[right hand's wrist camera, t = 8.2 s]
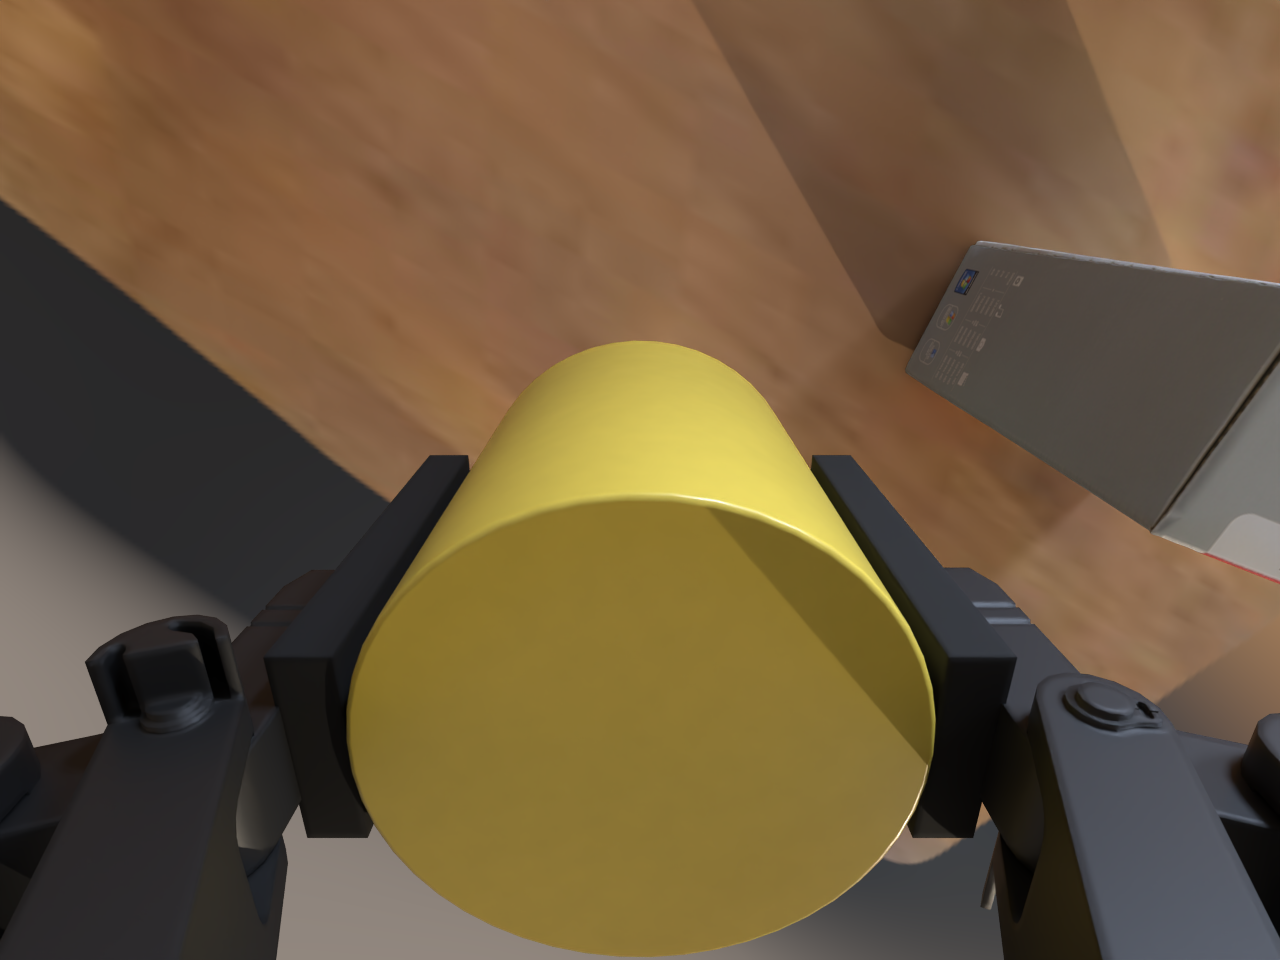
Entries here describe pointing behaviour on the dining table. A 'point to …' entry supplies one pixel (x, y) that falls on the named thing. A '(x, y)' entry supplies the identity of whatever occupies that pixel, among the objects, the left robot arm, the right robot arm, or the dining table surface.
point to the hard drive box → (1125, 386)
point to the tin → (640, 673)
